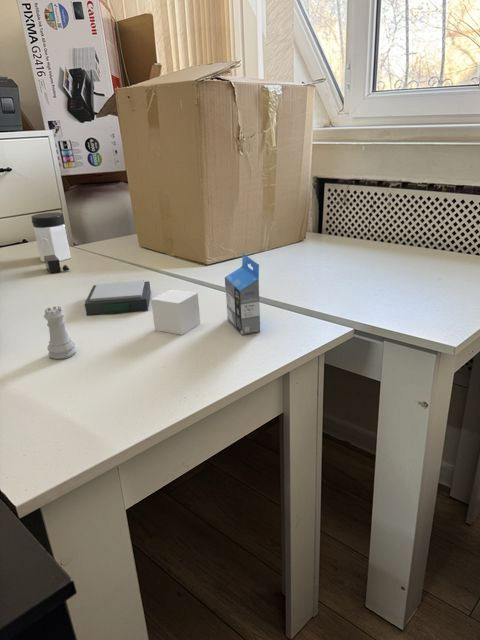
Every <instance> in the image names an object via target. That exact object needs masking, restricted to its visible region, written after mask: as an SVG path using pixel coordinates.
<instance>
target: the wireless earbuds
mask: <svg viewBox="0 0 480 640" xmlns="http://www.w3.org/2000/svg"><path fill="white" fill-rule="evenodd" d="M44 260H45V262H44V263H45V267H46V269H47V270H48V272H49V273H51V274H55V273H60V272H61V271H64V272H67V271H69V270H70V267H69V266H68V265H67V264H63V266H62V267H61V264H60V261H59V259H58V258H57V257H56V256H55V255H49V256H44Z"/></svg>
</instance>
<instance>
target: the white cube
mask: <svg viewBox="0 0 480 640" xmlns="http://www.w3.org/2000/svg"><path fill="white" fill-rule="evenodd" d="M150 301H151V311H152V316H153V318H152V319H153V324H154V325H153V326H154V331H158V332H162V333H163V332H164V333H170V334H173V335H174V334H175V335H180V336H183V335H184V334H186V333H187V332H189V331H191V330H192V329H194V328H195V327H197V326H199V325H200V324H201V315H200V314H201V313H200V302H199V293H198V292H195V291H194V292H193V291H186V290H179V289H171V288H170V289H168V290H166V291H164V292H162V293H160V294H158V295H156V296H154V297H153V298H150Z"/></svg>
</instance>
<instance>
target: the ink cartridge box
mask: <svg viewBox="0 0 480 640" xmlns="http://www.w3.org/2000/svg"><path fill="white" fill-rule="evenodd" d="M241 257H242V263H241V266H240V267H239V268H237V269H236V270H233V271H232V272H231V273H228V275H226V276H225V277H224V287H225V301H226V302H225V303H226V318H227V320H228V321H229V322H230V323H231V324H232V325H233V326H234V328H235V329H236V330H237V331H238V332H239V333H240V334H241V335H242V336H245V335H250V334H256V333H260V332H261V312H260V311H261V308H260V264H259V263H257V262H256V261H255V260H253V259H251V258H250V257H249V256H248V255H246V254H245V253H243V252H242V256H241ZM248 265H250V267H251V268H250V267H249V266H248Z"/></svg>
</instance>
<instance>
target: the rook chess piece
mask: <svg viewBox="0 0 480 640" xmlns="http://www.w3.org/2000/svg"><path fill="white" fill-rule="evenodd" d="M65 314H66V312H65V311H64V310H63V309H62V307H61V306H57V305H56V306H52V308H51V306H49V307H47V308H45V309H44V315H43V318H44V319H45V320H46V321H47V324H46V326H47V327H48V330H49V341H48V345H47V351H48V352H47V355H48V356H49V357H50V358H51V359H53V360H64V359H67V358H71V357H73V356H74V355H75V353H76V351H77V347H75V346H76V344H75V342H74V340H72V338H71V336H69V334H68V331H67V328H66V325H65V324H66V320H64V316H65Z"/></svg>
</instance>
